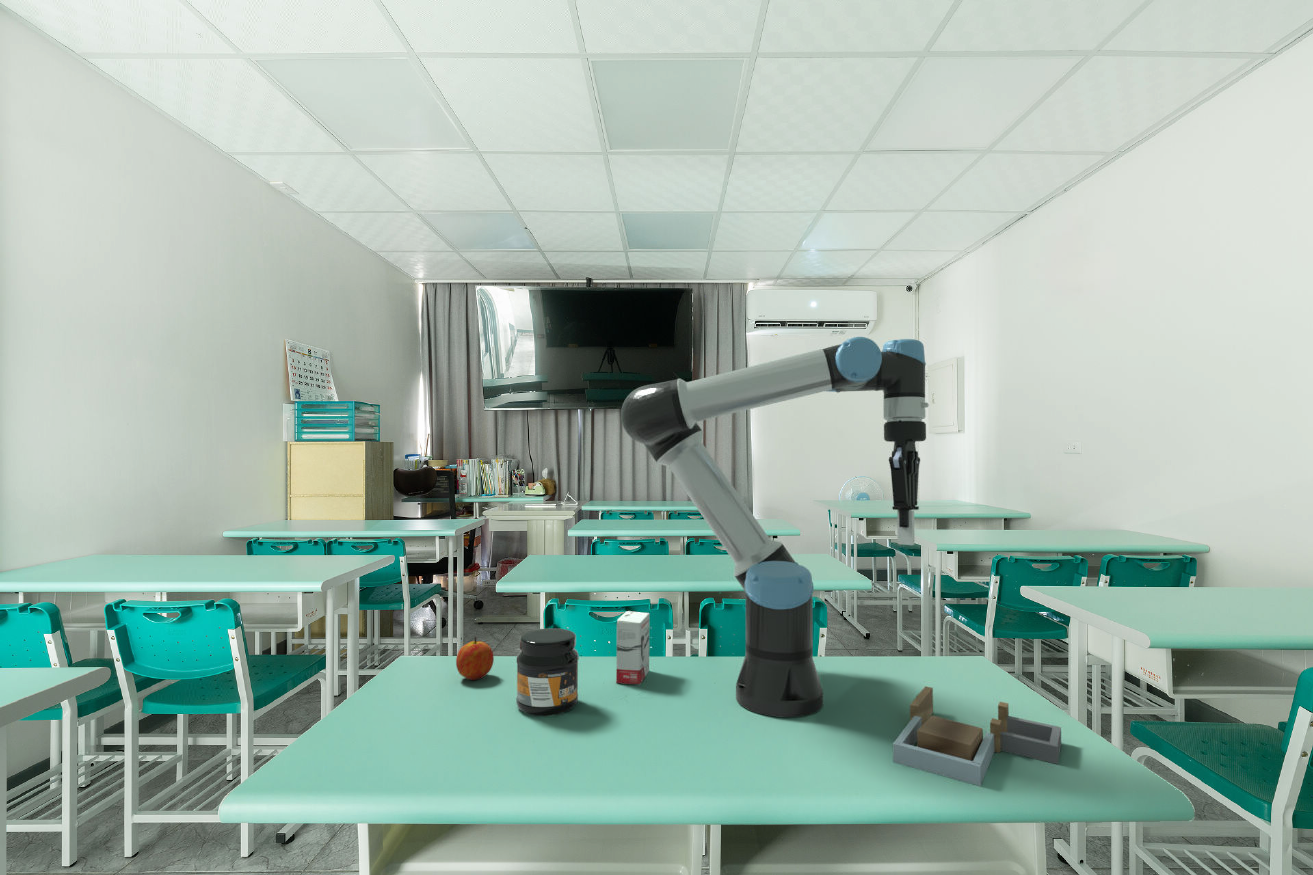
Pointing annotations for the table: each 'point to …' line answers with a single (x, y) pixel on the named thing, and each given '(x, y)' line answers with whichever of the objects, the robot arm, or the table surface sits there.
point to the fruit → (474, 660)
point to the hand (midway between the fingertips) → (906, 544)
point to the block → (950, 737)
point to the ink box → (632, 647)
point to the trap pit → (1032, 739)
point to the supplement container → (547, 672)
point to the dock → (942, 757)
